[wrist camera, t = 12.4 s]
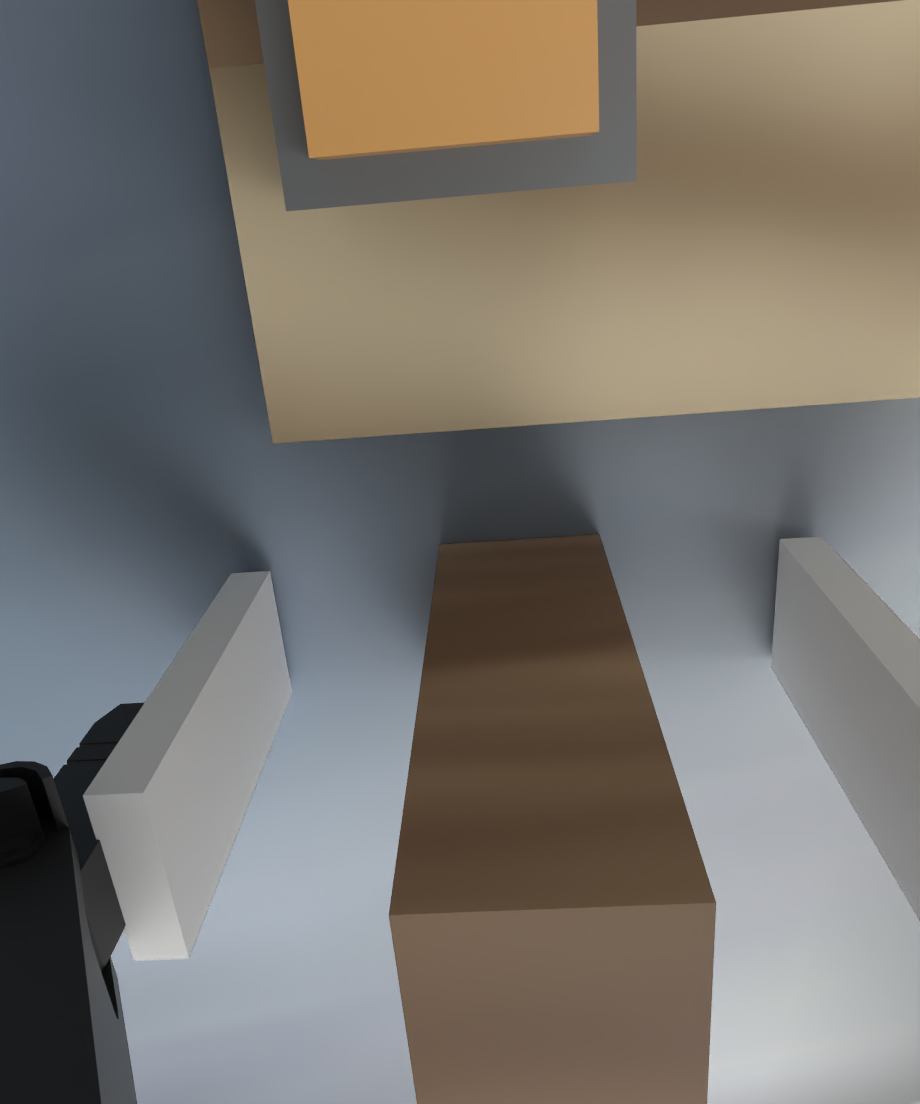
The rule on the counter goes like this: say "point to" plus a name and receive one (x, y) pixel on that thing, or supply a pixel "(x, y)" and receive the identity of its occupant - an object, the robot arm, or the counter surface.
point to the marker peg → (546, 848)
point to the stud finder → (448, 97)
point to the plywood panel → (611, 243)
